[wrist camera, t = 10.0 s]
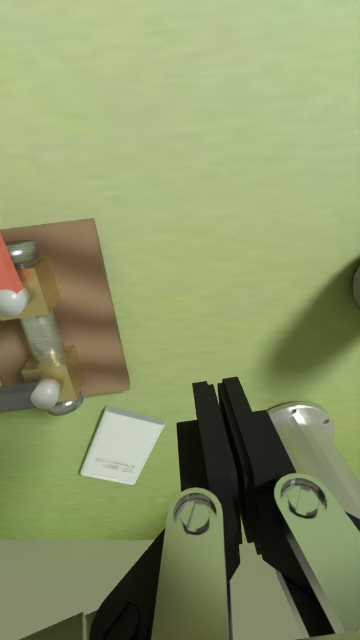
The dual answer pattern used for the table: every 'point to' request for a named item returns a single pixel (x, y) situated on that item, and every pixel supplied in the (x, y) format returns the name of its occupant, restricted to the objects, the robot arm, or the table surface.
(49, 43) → the table surface
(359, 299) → the smart speaker
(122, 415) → the external hard drive
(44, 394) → the black valve lever
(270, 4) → the table surface
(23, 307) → the red valve lever
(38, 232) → the pipe board
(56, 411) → the steel pipe with valves
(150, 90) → the table surface
